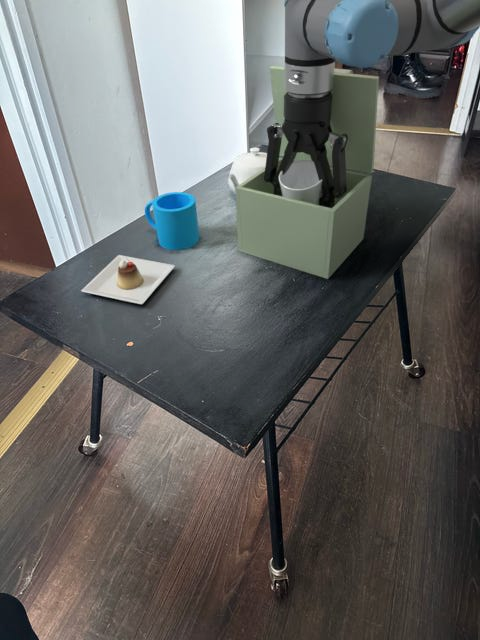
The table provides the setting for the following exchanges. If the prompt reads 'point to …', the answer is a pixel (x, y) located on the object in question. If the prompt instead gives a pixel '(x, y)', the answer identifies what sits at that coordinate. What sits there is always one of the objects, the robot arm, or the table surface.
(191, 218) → the mug
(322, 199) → the robot arm
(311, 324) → the table surface
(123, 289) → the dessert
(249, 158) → the teapot
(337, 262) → the chest
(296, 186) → the white cup
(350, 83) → the chest lid
